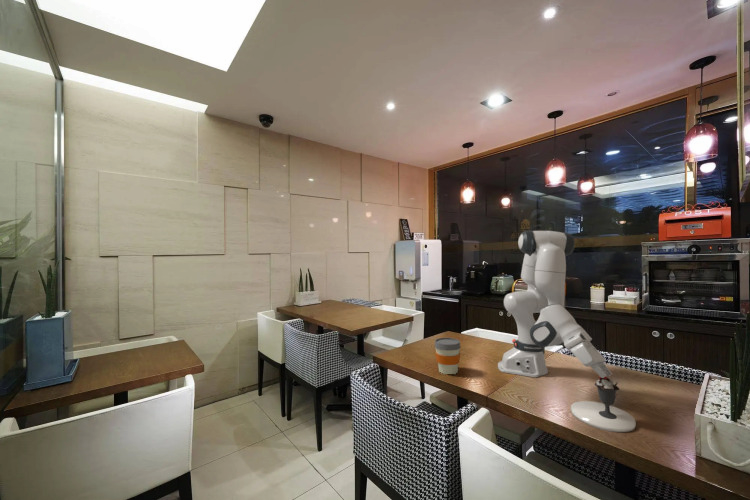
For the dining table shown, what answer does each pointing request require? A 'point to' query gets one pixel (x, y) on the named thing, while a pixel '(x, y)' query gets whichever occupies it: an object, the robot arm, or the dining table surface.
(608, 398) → the sundae
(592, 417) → the serving plate
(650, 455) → the dining table surface
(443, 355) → the reusable coffee cup
